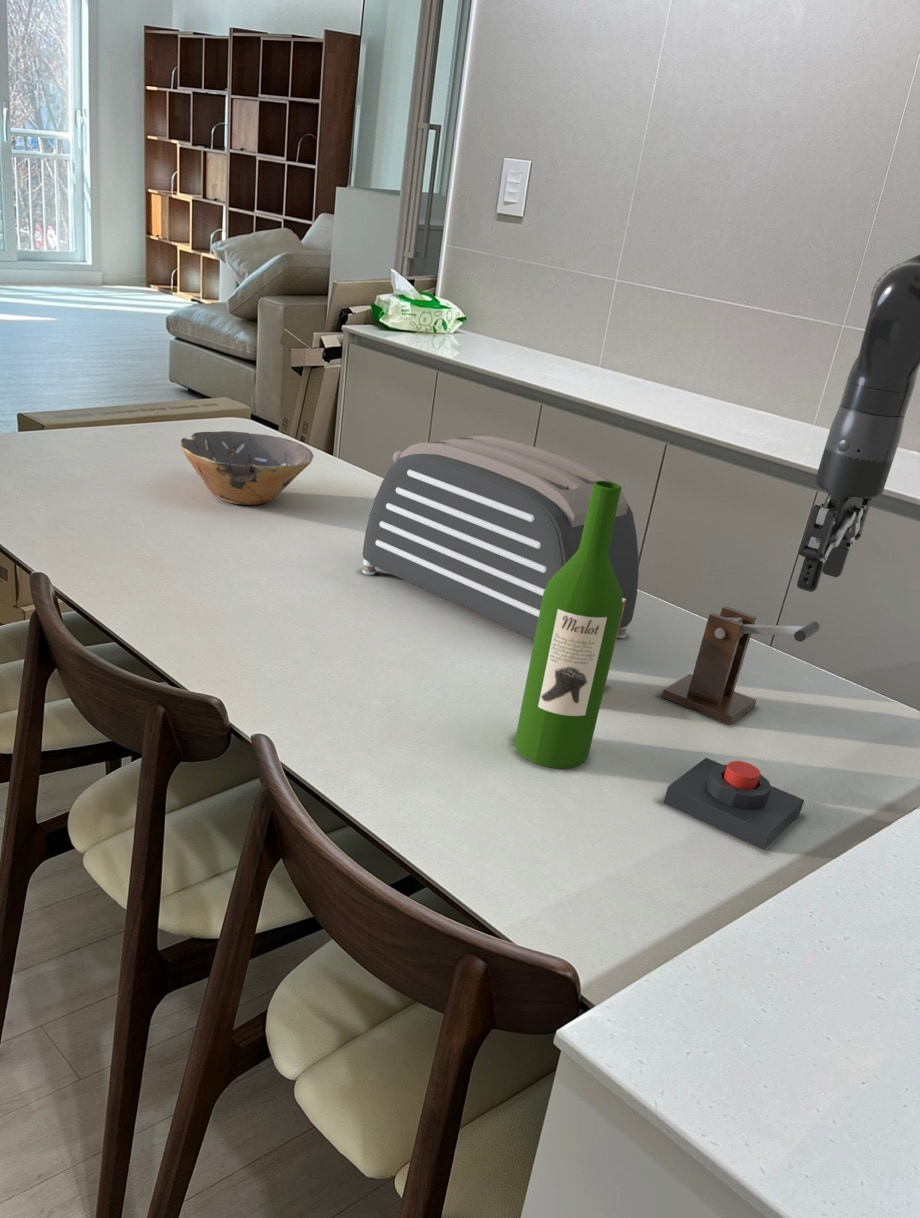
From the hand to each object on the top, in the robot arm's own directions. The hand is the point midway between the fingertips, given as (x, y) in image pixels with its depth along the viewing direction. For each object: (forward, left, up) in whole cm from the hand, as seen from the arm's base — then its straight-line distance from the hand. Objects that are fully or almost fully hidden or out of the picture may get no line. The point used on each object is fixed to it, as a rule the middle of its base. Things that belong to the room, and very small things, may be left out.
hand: (818, 582), depth 129 cm
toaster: (+50, -4, -21) cm, 54 cm away
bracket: (+9, 0, -20) cm, 22 cm away
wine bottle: (+16, +29, -21) cm, 39 cm away
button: (-5, +24, -17) cm, 30 cm away
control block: (-5, +24, -20) cm, 32 cm away
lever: (+4, 0, -9) cm, 10 cm away
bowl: (+108, -7, -21) cm, 110 cm away
